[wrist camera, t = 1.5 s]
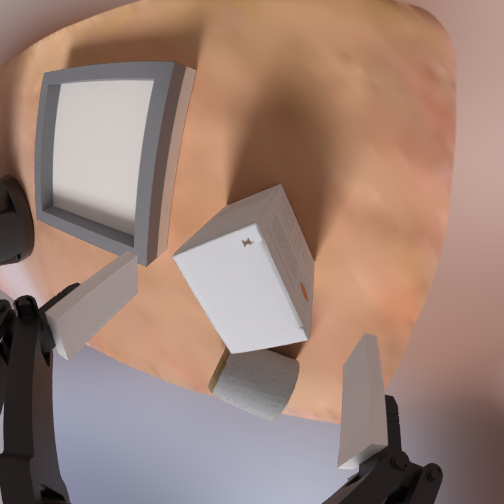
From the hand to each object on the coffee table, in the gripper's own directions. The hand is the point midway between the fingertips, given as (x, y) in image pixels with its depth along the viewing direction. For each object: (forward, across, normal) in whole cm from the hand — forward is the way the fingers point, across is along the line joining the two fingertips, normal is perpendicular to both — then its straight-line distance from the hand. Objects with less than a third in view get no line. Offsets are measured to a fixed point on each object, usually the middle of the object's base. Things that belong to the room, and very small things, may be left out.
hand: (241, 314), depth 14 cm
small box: (+12, -1, 0) cm, 12 cm away
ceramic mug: (+12, +2, -16) cm, 20 cm away
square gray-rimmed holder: (+11, -20, +4) cm, 23 cm away
